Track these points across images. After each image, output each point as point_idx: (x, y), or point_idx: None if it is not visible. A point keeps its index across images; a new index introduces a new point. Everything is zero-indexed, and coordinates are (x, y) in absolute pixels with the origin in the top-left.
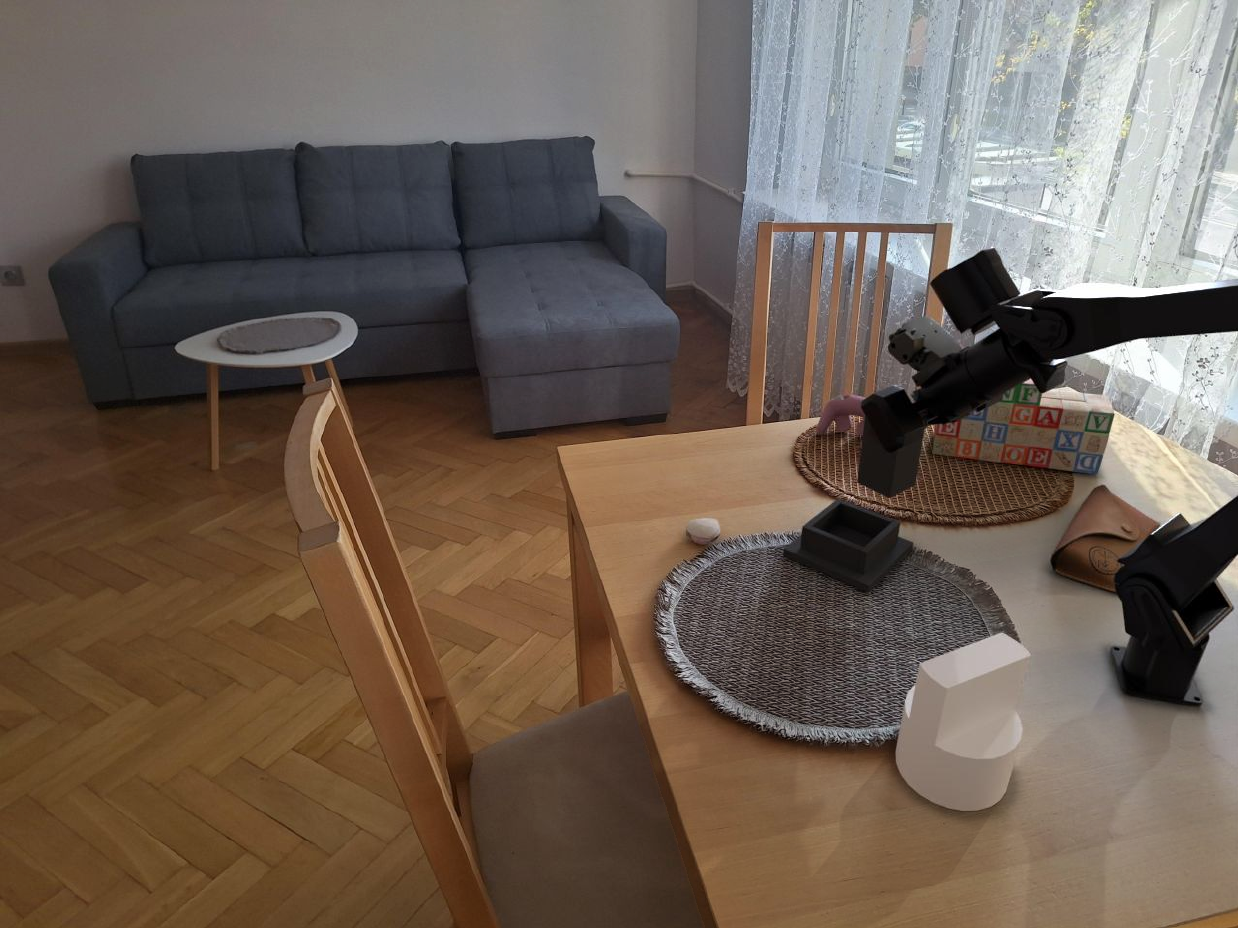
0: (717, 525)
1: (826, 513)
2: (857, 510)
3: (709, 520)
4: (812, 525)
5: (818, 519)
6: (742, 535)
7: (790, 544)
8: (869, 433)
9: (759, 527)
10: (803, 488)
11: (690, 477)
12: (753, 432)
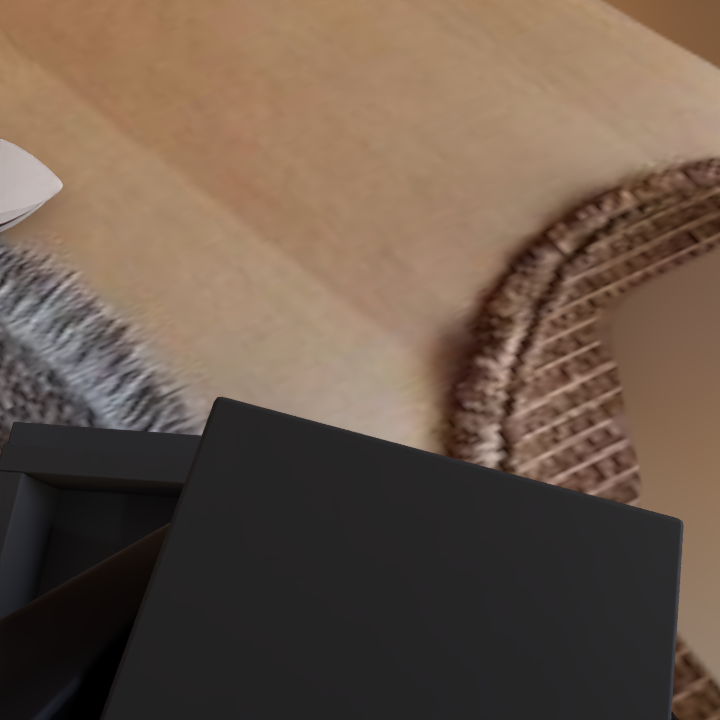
0: (6, 204)
1: (144, 477)
2: None
3: (2, 174)
4: (31, 472)
5: (83, 472)
6: (77, 280)
7: (47, 429)
8: None
9: (146, 299)
10: (440, 304)
11: (292, 38)
12: (637, 53)
